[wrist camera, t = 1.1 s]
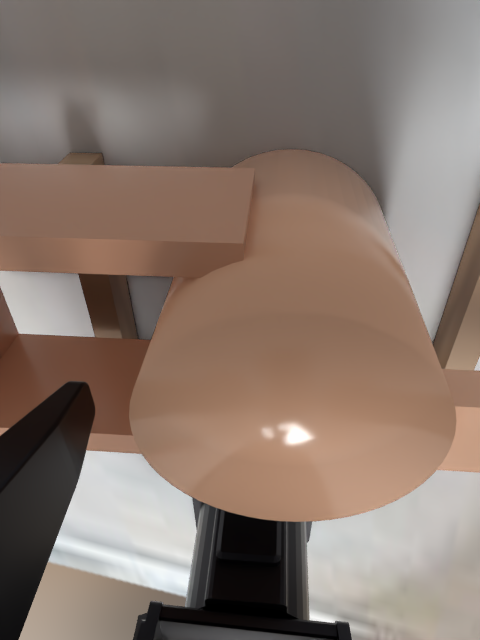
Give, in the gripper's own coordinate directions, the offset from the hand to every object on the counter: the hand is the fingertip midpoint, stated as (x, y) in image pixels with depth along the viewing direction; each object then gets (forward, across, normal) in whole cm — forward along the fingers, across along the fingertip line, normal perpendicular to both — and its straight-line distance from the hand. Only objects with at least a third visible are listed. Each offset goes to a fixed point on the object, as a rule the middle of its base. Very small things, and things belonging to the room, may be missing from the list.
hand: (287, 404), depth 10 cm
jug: (+7, +3, 0) cm, 8 cm away
